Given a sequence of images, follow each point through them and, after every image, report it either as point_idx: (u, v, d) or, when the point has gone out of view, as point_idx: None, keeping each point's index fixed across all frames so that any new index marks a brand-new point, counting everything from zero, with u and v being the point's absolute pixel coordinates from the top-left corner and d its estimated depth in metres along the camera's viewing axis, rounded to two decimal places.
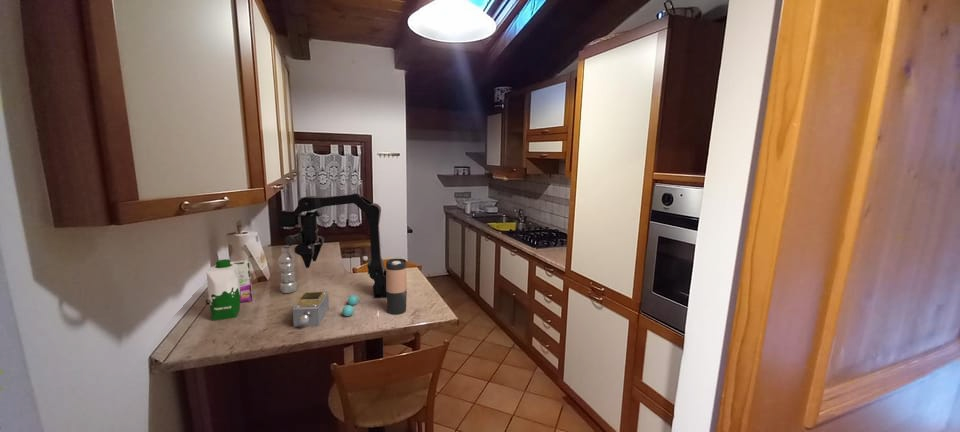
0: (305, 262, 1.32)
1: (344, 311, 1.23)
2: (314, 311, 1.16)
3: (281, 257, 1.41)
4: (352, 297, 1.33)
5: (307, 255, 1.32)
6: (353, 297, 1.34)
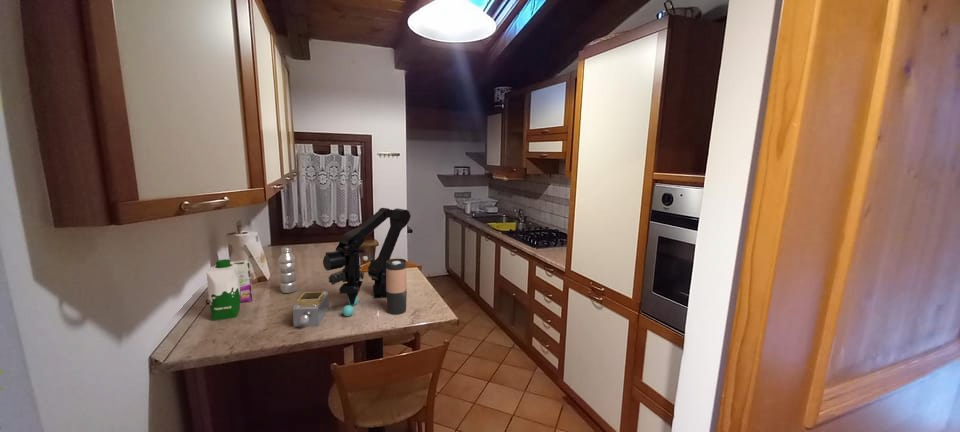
0: (350, 299, 1.32)
1: (344, 311, 1.23)
2: (314, 311, 1.16)
3: (281, 257, 1.41)
4: None
5: (352, 292, 1.31)
6: None
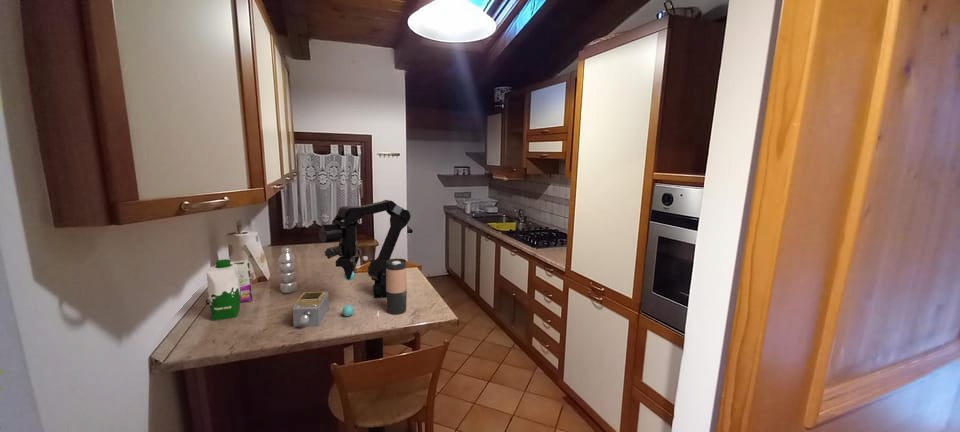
0: (346, 274, 1.29)
1: (344, 311, 1.23)
2: (314, 311, 1.16)
3: (281, 257, 1.41)
4: None
5: (349, 266, 1.29)
6: None
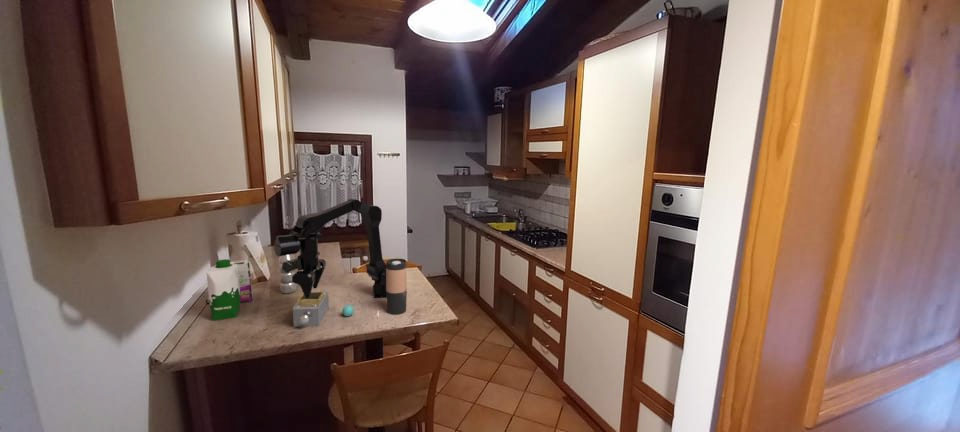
0: (304, 292, 1.16)
1: (344, 311, 1.23)
2: (314, 311, 1.16)
3: (281, 257, 1.41)
4: None
5: (307, 284, 1.15)
6: None
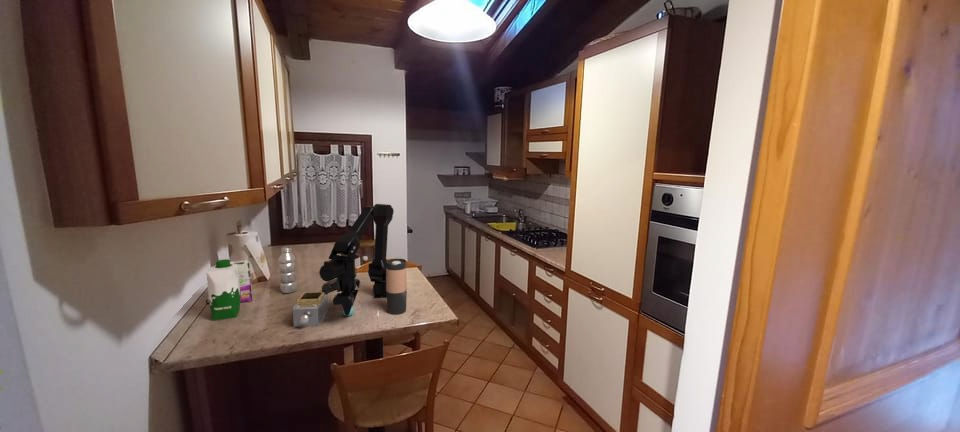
0: (345, 310, 1.22)
1: None
2: (314, 311, 1.16)
3: (281, 257, 1.41)
4: None
5: None
6: None
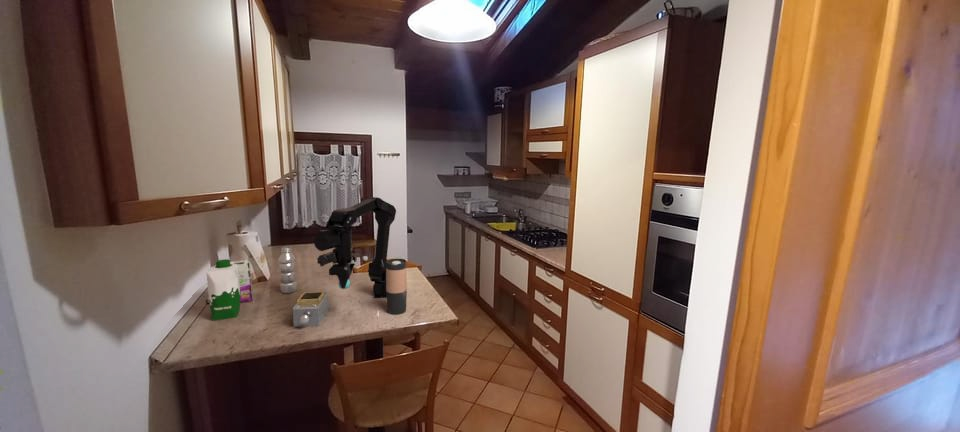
0: (341, 282, 1.20)
1: None
2: (314, 311, 1.16)
3: (281, 257, 1.41)
4: None
5: (343, 275, 1.19)
6: None
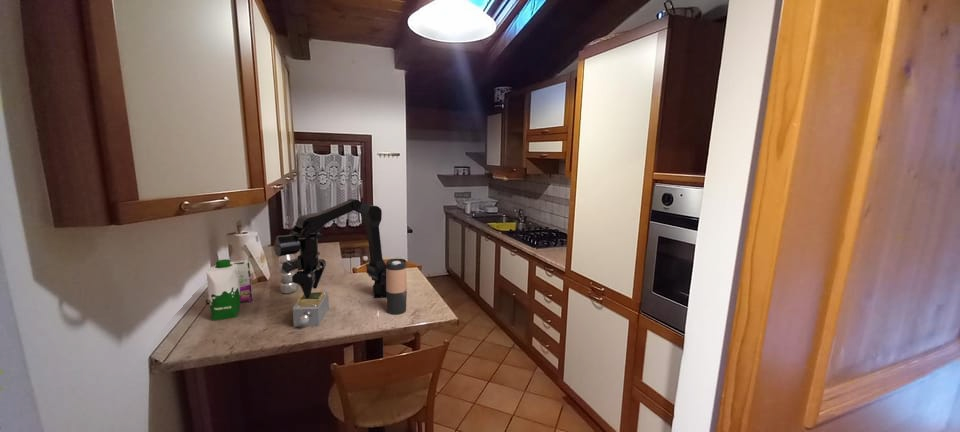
0: (304, 291, 1.16)
1: None
2: (314, 311, 1.16)
3: (281, 257, 1.41)
4: None
5: (307, 284, 1.15)
6: None
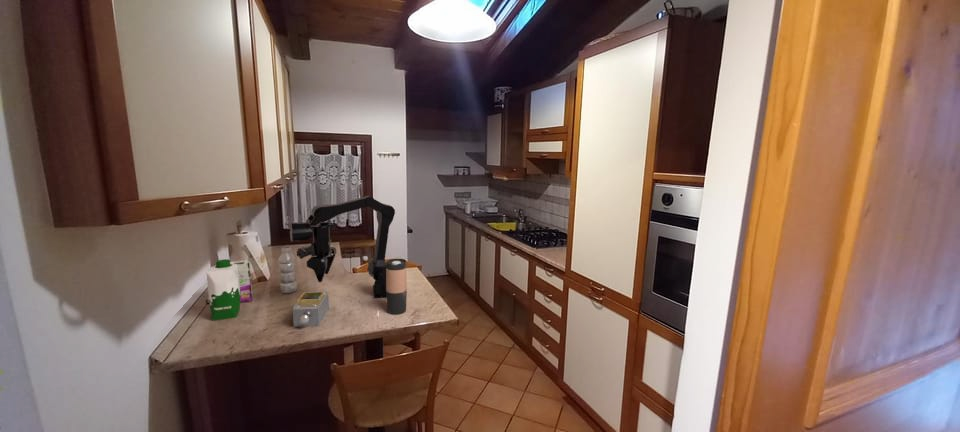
0: (317, 276, 1.25)
1: None
2: (314, 311, 1.16)
3: (281, 257, 1.41)
4: None
5: (320, 269, 1.24)
6: None
